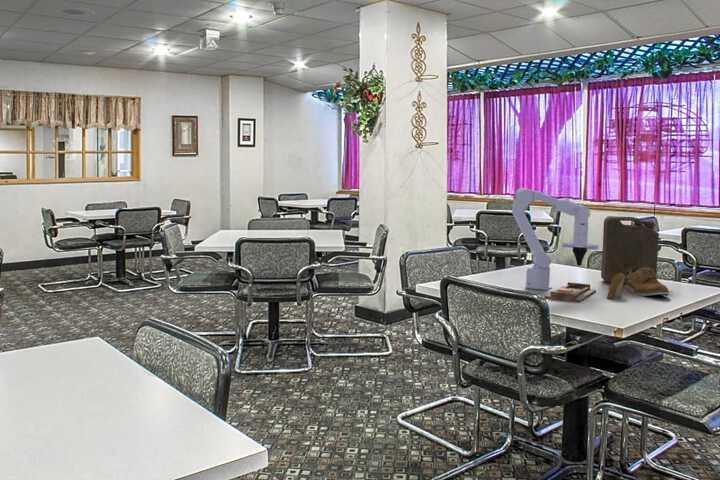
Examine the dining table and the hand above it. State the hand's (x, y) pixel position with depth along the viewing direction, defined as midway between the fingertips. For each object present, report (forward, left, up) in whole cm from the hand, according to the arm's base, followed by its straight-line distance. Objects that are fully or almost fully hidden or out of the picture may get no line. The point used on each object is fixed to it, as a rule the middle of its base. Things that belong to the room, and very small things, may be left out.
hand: (579, 265), depth 284 cm
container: (+15, +29, -11) cm, 34 cm away
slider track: (+1, -15, -10) cm, 18 cm away
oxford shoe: (+26, +7, -11) cm, 29 cm away
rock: (+16, -9, -11) cm, 21 cm away
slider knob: (+1, -24, -9) cm, 26 cm away
